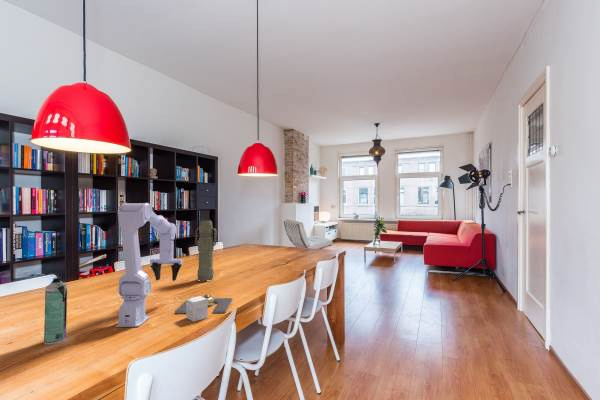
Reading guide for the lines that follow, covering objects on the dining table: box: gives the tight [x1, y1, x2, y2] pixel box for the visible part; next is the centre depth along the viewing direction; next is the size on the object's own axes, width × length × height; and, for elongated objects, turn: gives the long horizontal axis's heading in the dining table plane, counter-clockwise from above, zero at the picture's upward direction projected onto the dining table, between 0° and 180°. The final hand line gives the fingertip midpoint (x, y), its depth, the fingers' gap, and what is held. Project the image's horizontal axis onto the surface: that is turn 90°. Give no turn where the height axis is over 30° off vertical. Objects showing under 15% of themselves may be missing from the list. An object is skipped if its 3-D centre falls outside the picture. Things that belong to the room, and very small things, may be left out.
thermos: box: [194, 219, 217, 281], centre depth 181 cm, size 9×12×35 cm
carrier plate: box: [174, 294, 233, 315], centre depth 133 cm, size 17×20×4 cm
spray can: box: [43, 276, 68, 346], centre depth 98 cm, size 6×6×20 cm
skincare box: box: [185, 295, 209, 322], centre depth 119 cm, size 6×6×7 cm
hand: (166, 280), depth 139 cm, fingers open, 7 cm apart
